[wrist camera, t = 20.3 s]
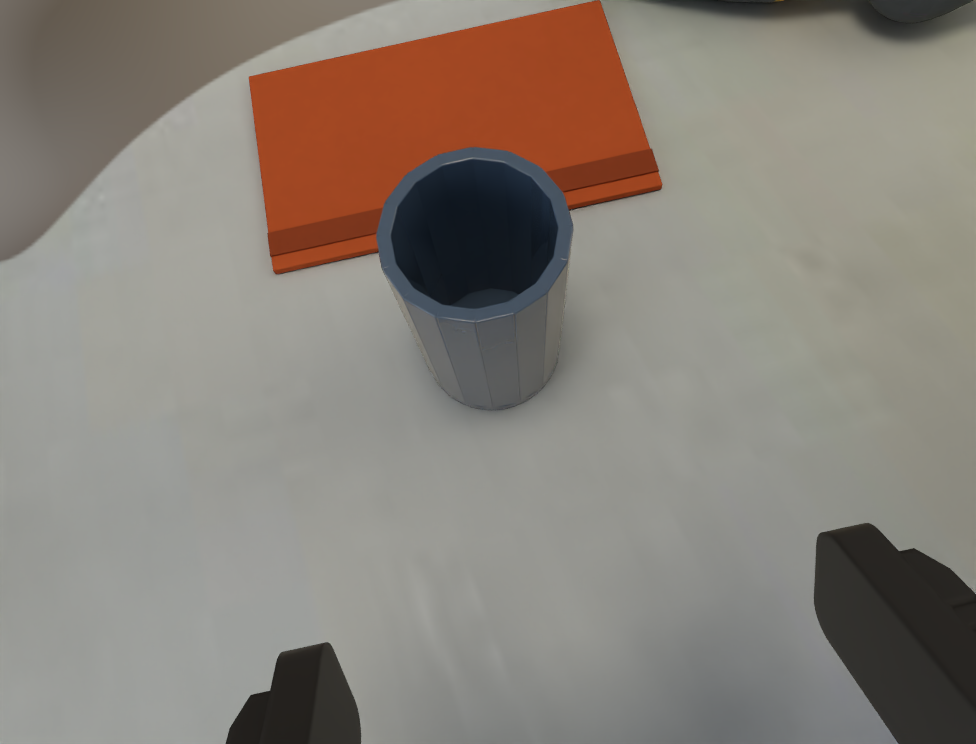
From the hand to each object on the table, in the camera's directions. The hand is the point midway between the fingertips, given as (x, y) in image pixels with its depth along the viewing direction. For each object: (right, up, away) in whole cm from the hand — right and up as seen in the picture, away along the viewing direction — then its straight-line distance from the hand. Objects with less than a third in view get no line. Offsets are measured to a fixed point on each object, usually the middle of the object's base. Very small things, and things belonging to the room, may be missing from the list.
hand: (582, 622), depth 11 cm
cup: (-1, +5, +18) cm, 19 cm away
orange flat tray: (-4, +16, +22) cm, 27 cm away
